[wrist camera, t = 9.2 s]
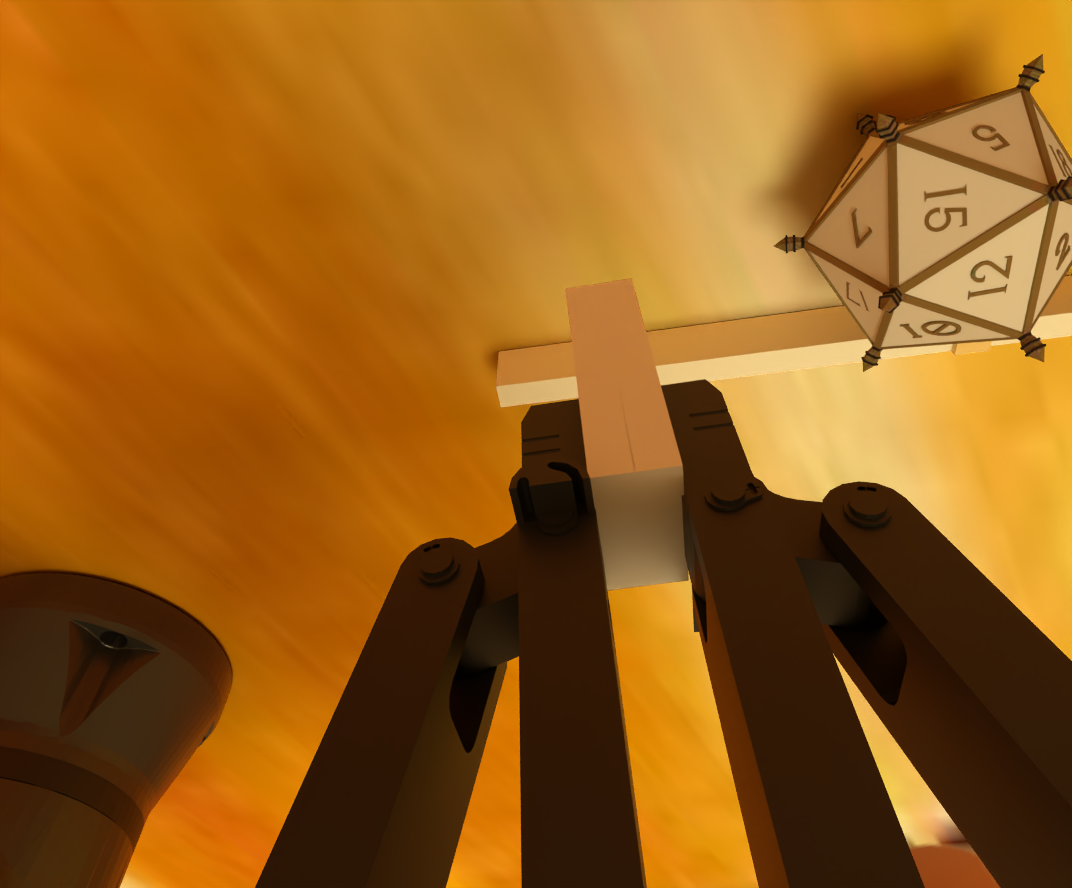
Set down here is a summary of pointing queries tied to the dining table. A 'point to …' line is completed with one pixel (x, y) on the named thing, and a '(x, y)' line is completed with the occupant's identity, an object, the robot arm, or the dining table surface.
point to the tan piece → (743, 350)
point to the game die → (949, 224)
